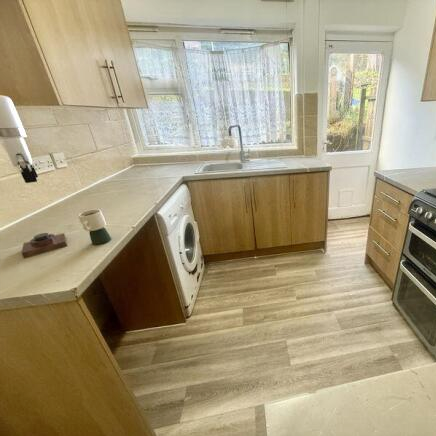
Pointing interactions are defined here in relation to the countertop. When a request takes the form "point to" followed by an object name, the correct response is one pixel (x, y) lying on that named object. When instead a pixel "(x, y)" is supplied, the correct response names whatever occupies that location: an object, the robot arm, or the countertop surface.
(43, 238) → the button
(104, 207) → the countertop surface
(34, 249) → the button box
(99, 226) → the character mug
